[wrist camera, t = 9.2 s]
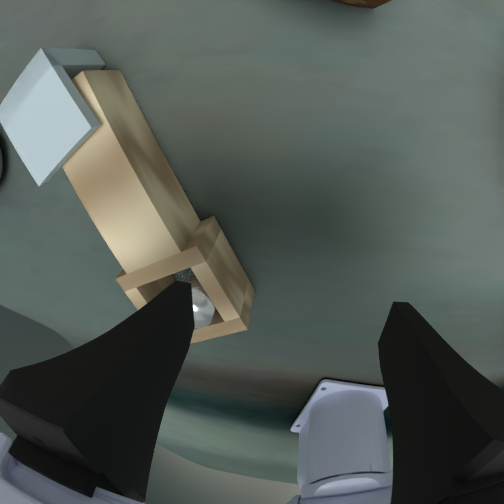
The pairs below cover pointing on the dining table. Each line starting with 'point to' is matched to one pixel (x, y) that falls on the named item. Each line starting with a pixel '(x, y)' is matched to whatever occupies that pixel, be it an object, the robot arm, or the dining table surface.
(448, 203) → the dining table surface
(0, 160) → the plastic bottle
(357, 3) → the food container
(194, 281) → the pintle
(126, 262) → the link
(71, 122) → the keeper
